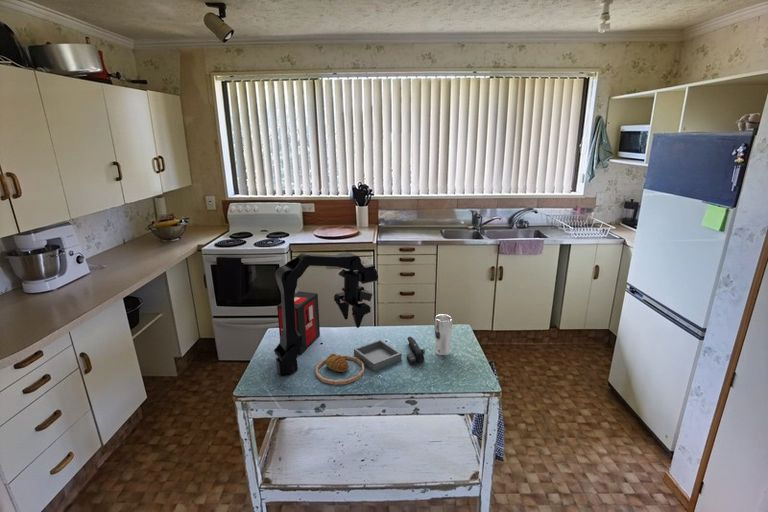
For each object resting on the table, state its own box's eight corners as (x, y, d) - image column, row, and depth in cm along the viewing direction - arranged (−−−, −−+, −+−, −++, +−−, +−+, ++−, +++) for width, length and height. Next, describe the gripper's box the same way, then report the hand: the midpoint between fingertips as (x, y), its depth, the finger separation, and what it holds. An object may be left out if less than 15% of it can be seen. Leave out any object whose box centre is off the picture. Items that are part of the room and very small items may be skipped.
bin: (374, 371, 142) (374, 364, 141) (354, 355, 153) (353, 348, 152) (401, 360, 149) (401, 353, 148) (380, 346, 160) (380, 339, 159)
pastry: (353, 368, 143) (353, 359, 143) (339, 375, 139) (339, 366, 138) (336, 359, 150) (336, 350, 149) (323, 366, 145) (322, 356, 144)
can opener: (427, 366, 146) (427, 352, 144) (408, 367, 145) (408, 353, 144) (418, 343, 163) (418, 330, 161) (401, 344, 162) (402, 331, 161)
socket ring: (330, 390, 131) (330, 387, 131) (308, 367, 145) (307, 364, 144) (373, 373, 141) (373, 370, 141) (348, 353, 154) (348, 350, 154)
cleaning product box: (301, 334, 171) (298, 291, 166) (320, 336, 168) (317, 293, 163) (281, 352, 156) (277, 305, 150) (300, 355, 153) (297, 308, 148)
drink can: (454, 355, 153) (456, 319, 149) (438, 358, 150) (440, 322, 146) (445, 347, 159) (446, 313, 155) (430, 350, 157) (431, 315, 153)
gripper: (382, 288, 146) (382, 327, 150) (357, 275, 161) (357, 311, 165) (357, 294, 140) (357, 334, 144) (333, 280, 155) (333, 316, 159)
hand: (352, 323), depth 153 cm, fingers open, 9 cm apart
